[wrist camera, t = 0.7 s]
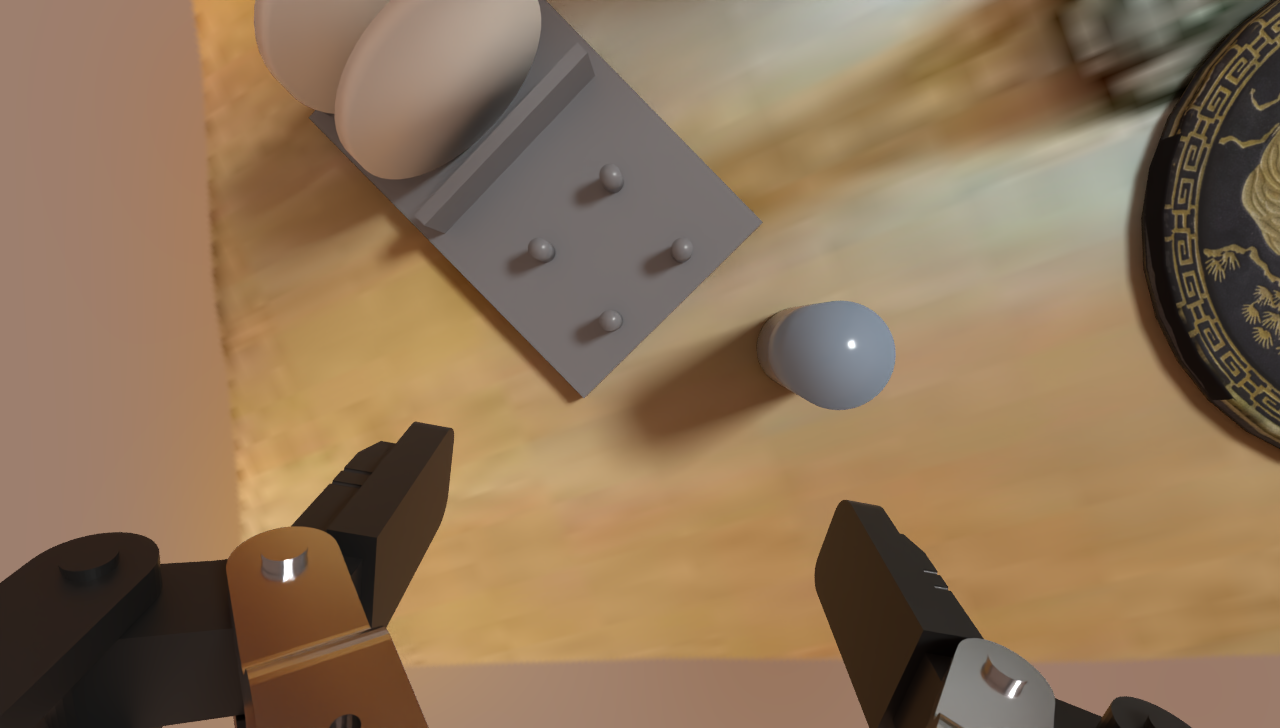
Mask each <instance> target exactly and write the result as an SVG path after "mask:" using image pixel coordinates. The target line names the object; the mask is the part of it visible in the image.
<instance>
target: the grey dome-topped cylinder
mask: <svg viewBox="0 0 1280 728" xmlns="http://www.w3.org/2000/svg"><path fill="white" fill-rule="evenodd" d="M757 355H758V359H759V362H760V365H761V367H762V369H763V370H764V372H765V373H766V374H767V375H768V376H769V377H770V378H771V379H772V380H774V381H775V382H777V383H778V384H780V385H782V386H783V387H785V388H787V389H789V390H790V391H792V392H794V393H795V394H797V395H799V396H801V397H802V398H804V399H806V400H807V401H809V402H811V403H813V404H815V405H817V406H820V407H823V408H827V409H832V410H846V409H851V408H855V407H858V406H861V405H863V404H865V403H867V402H869V401H870V400H872V399H873V398H874V397H875V396H877V395H878V394H879V393H880V392H881V391H882V390H883V388H884V387H885V386H886V384H887V383H888V381H889V379H890V377H891V374H892V372H893V369H894V364H895V345H894V340H893V337H892V334H891V332H890V330H889V328H888V327H887V325H886V323H885V322H884V321H883V320H882V319H881V317H879V316H878V315H877V314H876V313H875V312H874V311H872V310H871V309H869V308H867V307H865V306H863V305H861V304H858V303H854V302H849V301H832V302H826V303H819V304H812V305H805V306H799V307H792V308H788V309H784V310H782V311H780V312H778V313H776V314H775V315H773V316H772V317H771V318H770V319H769V320H768V321H767V322H766V323H765V325H764V326H763V328H762V329H761V331H760V334H759V337H758V341H757Z"/></svg>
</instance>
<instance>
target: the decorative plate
mask: <svg viewBox="0 0 1280 728" xmlns="http://www.w3.org/2000/svg"><path fill="white" fill-rule="evenodd" d="M1142 241H1143V264H1144V272H1145V276H1146V280H1147V284H1148V288H1149V292H1150V296H1151V300H1152V303H1153V307H1154V311H1155V315H1156V318H1157V320H1158V322H1159V324H1160V326H1161V328H1162V330H1163V332H1164V334H1165V336H1166V338H1167V340H1168V342H1169V344H1170V347H1171V349H1172V351H1173V353H1174V355H1175V357H1176V359H1177V361H1178V362H1179V363H1180V365H1181V366H1182V367H1183V368H1184V370H1185V371H1186V372H1187V373H1188V375H1189V376H1190V377H1191V379H1192V380H1193V381H1194V382H1195V384H1196V385H1197V386H1198V387H1199V389H1200V390H1201V391H1202V392H1203V394H1204V395H1205V396H1206V398H1207V399H1208V400H1209V401H1211V402H1212V403H1213V404H1214V405H1215V406H1217V407H1218V408H1219V409H1220V410H1221V411H1223V412H1224V413H1225V414H1226V415H1227V416H1229V417H1230V418H1231V419H1232V420H1233V421H1235V422H1236V423H1237V424H1238V425H1240V426H1241V427H1242V428H1243V429H1244V430H1246V431H1247V432H1249V433H1251V434H1253V435H1255V436H1257V437H1259V438H1261V439H1262V440H1264V441H1266V442H1268V443H1270V444H1272V445H1274V446H1276V447H1278V448H1280V0H1272V1H1271V2H1269V3H1268V4H1267V5H1266V6H1264V7H1263V8H1262V9H1260V10H1259V11H1258V12H1257V13H1255V14H1254V15H1253V16H1251V17H1250V18H1249V19H1247V20H1246V21H1245V22H1244V23H1242V24H1241V25H1240V26H1238V27H1237V28H1236V29H1235V30H1233V31H1232V33H1231V34H1230V35H1229V36H1228V37H1227V38H1226V39H1225V40H1224V41H1223V43H1222V44H1221V45H1220V46H1219V47H1218V48H1217V49H1216V50H1215V52H1214V53H1213V54H1212V55H1211V56H1210V57H1209V58H1208V59H1207V60H1206V62H1205V63H1204V64H1203V65H1202V66H1201V67H1200V68H1199V69H1198V70H1197V72H1196V73H1195V75H1194V76H1193V78H1192V80H1191V81H1190V83H1189V85H1188V86H1187V88H1186V90H1185V91H1184V93H1183V94H1182V96H1181V98H1180V99H1179V101H1178V103H1177V104H1176V106H1175V108H1174V109H1173V111H1172V113H1171V114H1170V116H1169V117H1168V120H1167V122H1166V125H1165V128H1164V130H1163V133H1162V136H1161V139H1160V141H1159V144H1158V147H1157V149H1156V152H1155V155H1154V157H1153V160H1152V163H1151V165H1150V169H1149V175H1148V181H1147V188H1146V194H1145V200H1144V206H1143V212H1142Z"/></svg>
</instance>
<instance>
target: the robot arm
mask: <svg viewBox="0 0 1280 728" xmlns="http://www.w3.org/2000/svg"><path fill="white" fill-rule="evenodd" d="M453 443H454V431H453V429H452V428H448V427H442V426H437V425H431V424H425V423H420V422H414V423H413V424H412V425H411V426H410V427H409V428H408V430H407V431H406V432H405V433H404V435H403V436H402V437H401V438H400V439H399V441H398V442H397V443H396V444H395V443H389V442H383V441H380V442H378V443H376V444H374V445H372V446H370V447H368V448H366V449H364V450H362V451H360V452H358V453H357V454H356V455H355V457H354V458H353V459H352V460H351V461H350V462H349V463H348V464H347V465H346V466H345V468H344V471H341V472H340V473H339V474H338V475H337V476H336V477H335V478H334V480H333V482H332V484H329V485H328V486H327V487H326V488H325V489H324V491H323V492H322V493H321V494H320V495H319V496H318V497H317V498H316V499H315V500H314V502H313V503H312V504H311V505H310V506H309V507H308V508H307V509H306V510H305V511H304V513H303V514H302V515H301V516H300V517H299V518H298V519H297V520H296V521H295V522H294V524H293V525H292V526H291V527H283V528H277V529H273V530H269V531H266V532H263V533H260V534H258V535H255V536H253V537H251V538H249V539H248V540H246V541H244V542H243V543H242V544H240V545H239V546H238V547H237V548H236V549H235V550H234V551H233V552H232V553H231V555H230V556H229V558H228V559H225V560H217V561H203V562H187V563H169V564H160V556H159V549H158V547H157V545H156V544H155V543H154V542H153V541H152V540H151V539H149V538H147V537H145V536H142V535H138V534H133V533H122V532H115V533H102V534H96V535H89V536H85V537H81V538H77V539H74V540H70V541H68V542H65V543H62V544H60V545H57V546H55V547H52V548H50V549H48V550H47V551H45V552H43V553H41V554H39V555H38V556H36V557H35V558H33V559H32V560H30V561H29V562H28V563H26V564H25V565H24V566H22V567H21V568H20V569H18V570H17V571H16V572H14V573H13V574H12V575H10V576H9V577H8V578H6V579H5V580H4V581H2V582H1V583H0V728H162V727H163V726H166V725H173V724H180V723H187V722H194V721H201V720H208V719H214V718H222V717H229V716H233V718H234V725H235V728H429V727H428V725H427V722H426V720H425V718H424V715H423V713H422V710H421V708H420V706H419V704H418V701H417V699H416V696H415V694H414V691H413V689H412V686H411V684H410V682H409V679H408V677H407V674H406V672H405V670H404V667H403V665H402V662H401V660H400V658H399V655H398V653H397V650H396V648H395V646H394V643H393V641H392V638H391V636H390V634H389V632H388V631H387V629H386V627H387V625H388V623H389V621H390V619H391V618H392V616H393V614H394V612H395V610H396V608H397V606H398V604H399V602H400V600H401V599H402V597H403V595H404V593H405V591H406V589H407V587H408V585H409V583H410V581H411V580H412V578H413V576H414V574H415V572H416V570H417V568H418V566H419V564H420V562H421V560H422V559H423V557H424V555H425V553H426V551H427V549H428V547H429V545H430V543H431V541H432V540H433V538H434V536H435V534H436V532H437V530H438V528H439V526H440V524H441V521H442V518H443V515H444V512H445V508H446V504H447V499H448V491H449V482H450V472H451V462H452V453H453ZM815 587H816V591H817V594H818V597H819V599H820V602H821V604H822V607H823V609H824V612H825V615H826V617H827V620H828V622H829V625H830V628H831V630H832V633H833V635H834V638H835V640H836V643H837V646H838V648H839V651H840V653H841V656H842V658H843V661H844V664H845V666H846V669H847V671H848V674H849V677H850V679H851V682H852V684H853V687H854V689H855V692H856V695H857V697H858V700H859V702H860V704H861V707H862V710H863V713H864V715H865V718H866V720H867V723H868V725H869V728H1191V727H1190V726H1189V725H1187V724H1186V723H1185V722H1183V721H1182V720H1180V719H1179V718H1177V717H1176V716H1174V715H1172V714H1171V713H1169V712H1167V711H1166V710H1164V709H1162V708H1160V707H1158V706H1156V705H1154V704H1151V703H1149V702H1147V701H1144V700H1141V699H1137V698H1133V697H1127V696H1126V697H1118V698H1116V699H1115V700H1113V702H1112V703H1111V704H1110V706H1109V708H1108V709H1107V711H1106V712H1105V714H1104V716H1103V717H1101V716H1098V715H1096V714H1093V713H1091V712H1088V711H1086V710H1083V709H1081V708H1078V707H1076V706H1073V705H1071V704H1068V703H1066V702H1063V701H1061V700H1058V699H1056V698H1055V696H1054V693H1053V691H1052V689H1051V687H1050V685H1049V684H1048V682H1047V681H1046V679H1045V678H1044V677H1043V676H1042V675H1041V674H1040V672H1039V671H1037V670H1036V669H1035V668H1034V667H1033V666H1032V665H1031V664H1030V663H1029V662H1027V661H1026V660H1025V659H1023V658H1022V657H1021V656H1019V655H1018V654H1016V653H1014V652H1013V651H1011V650H1009V649H1008V648H1006V647H1004V646H1002V645H999V644H997V643H994V642H991V641H988V640H984V639H983V637H982V636H981V634H980V633H979V631H978V630H977V628H976V627H975V625H974V624H973V623H972V621H971V620H970V618H969V617H968V615H967V614H966V612H965V611H964V609H963V608H962V607H961V605H960V604H959V602H958V601H957V599H956V598H955V596H954V595H953V593H952V592H951V591H948V586H947V585H946V583H945V582H944V580H943V579H942V577H941V576H940V575H937V570H936V569H935V567H934V566H933V564H932V563H931V561H930V560H929V558H928V557H927V556H926V554H925V553H924V552H923V551H922V550H921V549H920V548H919V547H917V546H916V545H915V544H914V543H913V542H912V541H911V540H909V539H908V538H907V537H906V536H905V535H904V534H900V533H899V532H898V530H897V529H896V527H895V526H894V524H893V523H892V521H891V520H890V518H889V517H888V515H887V514H886V512H885V511H884V509H883V508H882V507H880V506H877V505H871V504H866V503H860V502H855V501H849V500H843V501H841V502H840V503H839V504H838V506H837V508H836V510H835V513H834V516H833V518H832V521H831V524H830V526H829V529H828V532H827V534H826V537H825V540H824V542H823V545H822V548H821V550H820V553H819V556H818V559H817V562H816V567H815Z"/></svg>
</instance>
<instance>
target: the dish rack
mask: <svg viewBox="0 0 1280 728" xmlns="http://www.w3.org/2000/svg"><path fill="white" fill-rule="evenodd" d="M254 27H255V36H256V41H257V44H258V48H259V52H260V54H261V56H262V59H263V61H264V63H265V65H266V66H267V68H268V69H269V71H270V72H271V74H272V75H273V76H274V77H275V78H276V79H277V80H278V81H279V82H280V83H281V84H282V85H283V87H284V88H285V89H286V90H287V91H288V92H289V93H290V94H291V95H292V96H293V97H294V98H295V99H297V100H298V101H300V102H301V103H302V104H304V105H306V106H308V107H310V108H312V109H314V110H315V111H314V112H313V114H312V115H311V116H310V117H309V119H310V120H311V121H312V122H313V123H314V124H315V125H316V126H317V127H318V128H319V129H320V130H321V131H322V132H323V133H324V134H325V135H326V136H327V137H328V138H329V139H330V140H331V141H332V142H333V143H334V144H335V145H336V146H337V147H338V148H339V149H340V150H341V151H342V152H343V153H344V154H345V155H346V156H347V157H348V158H349V159H350V160H351V161H352V162H353V163H354V164H355V166H356V167H357V168H358V169H359V170H360V171H361V172H362V173H363V174H364V175H365V176H366V177H367V178H368V179H369V180H370V181H371V182H372V183H373V184H374V185H375V186H376V187H377V188H378V189H379V190H380V191H381V192H382V193H383V194H384V195H385V196H386V197H387V198H388V199H389V200H390V201H391V202H392V203H393V204H394V205H395V206H396V207H397V208H398V209H399V210H400V211H401V212H402V213H403V214H404V215H405V216H406V217H407V219H408V220H409V221H410V222H411V223H412V224H413V225H414V226H415V227H416V228H417V229H418V230H419V231H420V232H421V233H422V234H423V235H424V236H425V237H426V238H427V239H428V240H429V241H430V242H431V243H432V244H433V245H434V246H435V247H436V248H437V249H438V250H439V251H440V252H441V253H442V254H443V255H444V256H445V257H446V258H447V259H448V260H449V261H450V262H451V263H452V264H453V265H454V266H455V267H456V268H457V269H458V270H459V272H460V273H461V274H462V275H463V276H464V277H465V278H466V279H467V280H468V281H469V282H470V283H471V284H472V285H473V286H474V287H475V288H476V289H477V290H478V291H479V292H480V293H481V294H482V295H483V296H484V297H485V298H486V299H487V300H488V301H489V302H490V303H491V304H492V305H493V306H494V307H495V308H496V309H497V310H498V311H499V312H500V313H501V314H502V315H503V316H504V317H505V318H506V319H507V320H508V321H509V322H510V323H511V325H512V326H513V327H514V328H515V329H516V330H517V331H518V332H519V333H520V334H521V335H522V336H523V337H524V338H525V339H526V340H527V341H528V342H529V343H530V344H531V345H532V346H533V347H534V348H535V349H536V350H537V351H538V352H539V353H540V354H541V355H542V356H543V357H544V358H545V359H546V360H547V361H548V362H549V363H550V364H551V365H552V366H553V367H554V368H555V369H556V370H557V371H558V372H559V373H560V374H561V375H562V376H563V377H564V379H565V380H566V381H567V382H568V383H569V384H570V385H571V386H572V387H573V388H574V389H575V390H576V391H577V392H578V393H579V394H580V395H581V396H582V397H583V398H585V397H586V396H587V395H588V394H589V393H590V392H591V391H592V390H593V389H594V388H595V387H596V386H597V385H598V384H599V383H600V382H601V381H602V380H603V379H604V378H605V377H607V376H608V375H609V374H610V373H611V372H612V371H613V370H614V369H615V368H616V367H617V366H618V365H619V364H620V363H621V362H622V361H623V360H624V359H625V358H626V357H627V356H628V355H629V354H630V353H631V352H632V351H633V350H634V349H635V348H636V347H637V346H638V345H639V344H640V343H641V342H642V341H643V340H644V339H645V338H646V337H647V336H648V335H649V334H650V333H651V332H652V331H653V330H654V329H655V328H656V327H657V326H658V325H659V324H660V323H661V322H662V321H663V320H664V319H665V318H666V317H667V316H668V315H670V314H671V313H672V312H673V311H674V310H675V309H676V308H677V307H678V306H679V305H680V304H681V303H682V302H683V301H684V300H685V299H686V298H687V297H688V296H689V295H690V294H691V293H692V292H693V291H694V290H695V289H696V288H697V287H698V286H699V285H700V284H701V283H702V282H703V281H704V280H705V279H706V278H707V277H708V276H709V275H710V274H711V273H712V272H713V271H714V270H715V269H716V268H717V267H718V266H719V265H720V264H721V263H722V262H723V261H724V260H725V259H726V258H727V257H728V256H729V255H730V254H731V253H733V252H734V251H735V250H736V249H737V248H738V247H739V246H740V245H741V244H742V243H743V242H744V241H745V240H746V239H747V238H748V237H749V236H750V235H751V234H752V233H753V232H754V231H755V230H756V229H757V228H758V227H759V226H760V225H761V224H762V221H761V220H760V219H759V218H758V217H757V216H756V215H755V214H754V213H753V212H752V211H751V210H750V209H749V208H748V207H747V206H746V205H745V204H744V203H743V202H742V201H741V200H740V199H739V198H738V197H737V196H736V194H735V193H734V192H733V191H732V190H731V189H730V188H729V187H728V186H727V185H726V184H725V183H724V182H723V181H722V180H721V179H720V178H719V177H718V176H717V175H716V174H715V173H714V172H713V171H712V170H711V169H710V168H709V167H708V166H707V165H706V164H705V163H704V162H703V161H702V160H701V159H700V158H699V157H698V156H697V155H696V154H695V153H694V152H693V151H692V150H691V149H690V147H689V146H688V145H687V144H686V143H685V142H684V141H683V140H682V139H681V138H680V137H679V136H678V135H677V134H676V133H675V132H674V131H673V130H672V129H671V128H670V127H669V126H668V125H667V124H666V123H665V122H664V121H663V120H662V119H661V118H660V117H659V116H658V115H657V114H656V113H655V112H654V111H653V110H652V109H651V108H650V107H649V106H648V105H647V104H646V103H645V101H644V100H643V99H642V98H641V97H640V96H639V95H638V94H637V93H636V92H635V91H634V90H633V89H632V88H631V87H630V86H629V85H628V84H627V83H626V82H625V81H624V80H623V79H622V78H621V77H620V76H619V75H618V74H617V73H616V72H615V71H614V70H613V69H612V68H611V67H610V66H609V65H608V64H607V63H606V62H605V61H604V60H603V59H602V58H601V57H600V55H599V54H598V53H597V52H596V51H595V50H594V49H593V48H592V47H591V46H590V45H589V44H588V43H587V42H586V41H585V40H584V39H583V38H582V37H581V36H580V35H579V34H578V33H577V32H576V31H575V30H574V29H573V28H572V27H571V26H570V25H569V24H568V23H567V22H566V21H565V20H564V19H563V18H562V17H561V16H560V15H559V14H558V13H557V12H556V11H555V9H554V8H553V7H552V6H551V5H550V4H549V3H548V2H547V1H546V0H256V1H255V8H254Z"/></svg>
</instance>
